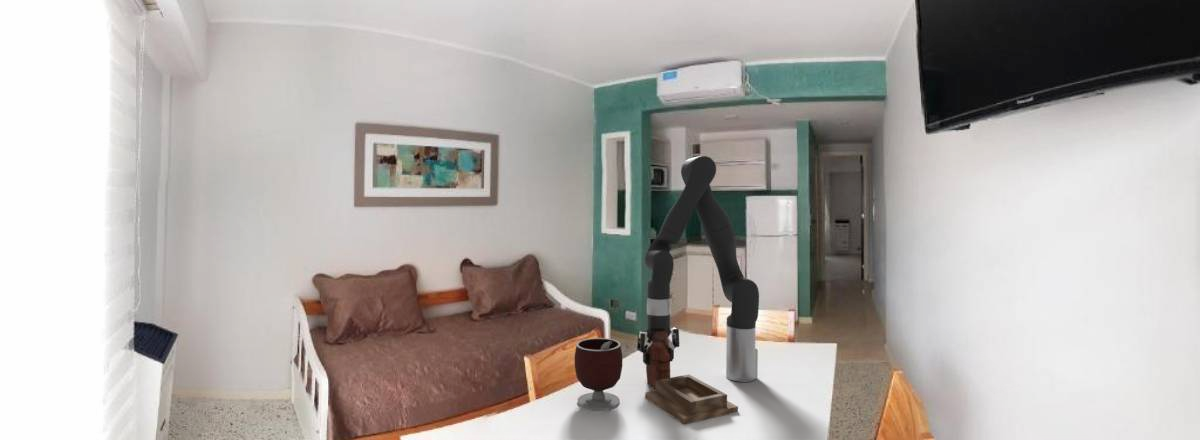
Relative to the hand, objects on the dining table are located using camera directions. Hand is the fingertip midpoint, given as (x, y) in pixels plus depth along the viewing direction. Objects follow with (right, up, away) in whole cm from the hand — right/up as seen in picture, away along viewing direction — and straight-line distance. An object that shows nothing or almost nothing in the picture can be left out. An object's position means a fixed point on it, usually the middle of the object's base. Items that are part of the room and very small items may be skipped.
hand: (658, 362), depth 159 cm
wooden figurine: (0, -7, 0) cm, 7 cm away
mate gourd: (-19, -8, -14) cm, 25 cm away
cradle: (+7, -8, -15) cm, 18 cm away
